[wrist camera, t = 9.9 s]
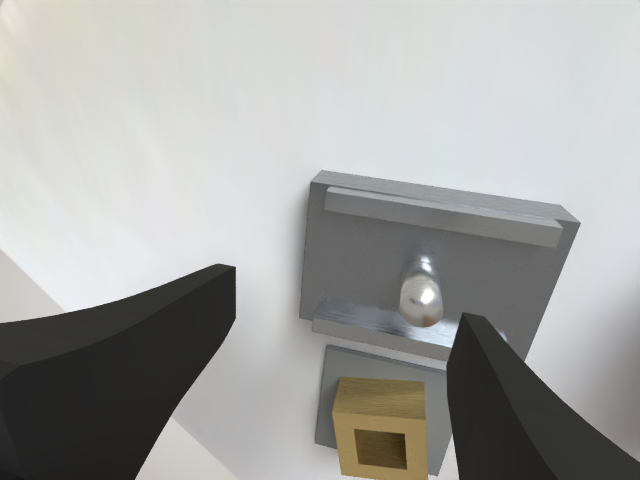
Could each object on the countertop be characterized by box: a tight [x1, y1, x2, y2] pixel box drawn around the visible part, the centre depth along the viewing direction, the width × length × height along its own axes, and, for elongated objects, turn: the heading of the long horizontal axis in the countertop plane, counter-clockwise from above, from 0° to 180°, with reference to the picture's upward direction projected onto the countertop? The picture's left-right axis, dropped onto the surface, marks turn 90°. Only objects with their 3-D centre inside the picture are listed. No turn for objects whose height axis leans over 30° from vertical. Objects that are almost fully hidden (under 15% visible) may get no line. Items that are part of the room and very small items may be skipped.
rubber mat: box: [315, 345, 452, 476], centre depth 26 cm, size 9×9×1 cm
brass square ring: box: [332, 377, 428, 480], centre depth 24 cm, size 5×5×3 cm
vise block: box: [299, 170, 581, 361], centre depth 19 cm, size 12×8×6 cm, turn 85°
